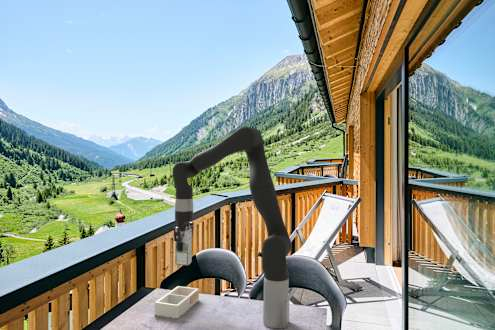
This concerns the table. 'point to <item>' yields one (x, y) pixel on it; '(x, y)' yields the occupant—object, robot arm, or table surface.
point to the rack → (176, 302)
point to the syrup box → (184, 249)
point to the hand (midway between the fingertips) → (183, 249)
